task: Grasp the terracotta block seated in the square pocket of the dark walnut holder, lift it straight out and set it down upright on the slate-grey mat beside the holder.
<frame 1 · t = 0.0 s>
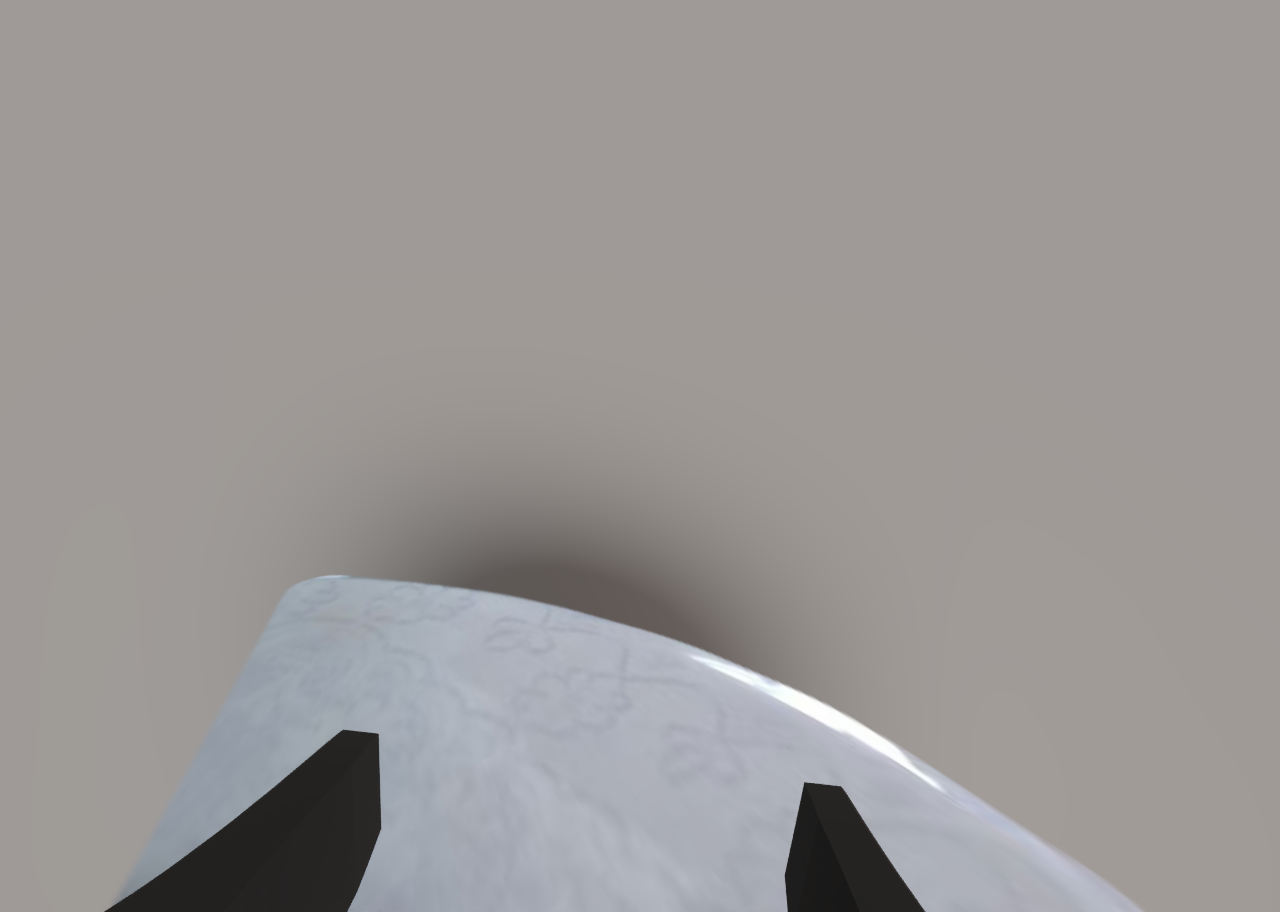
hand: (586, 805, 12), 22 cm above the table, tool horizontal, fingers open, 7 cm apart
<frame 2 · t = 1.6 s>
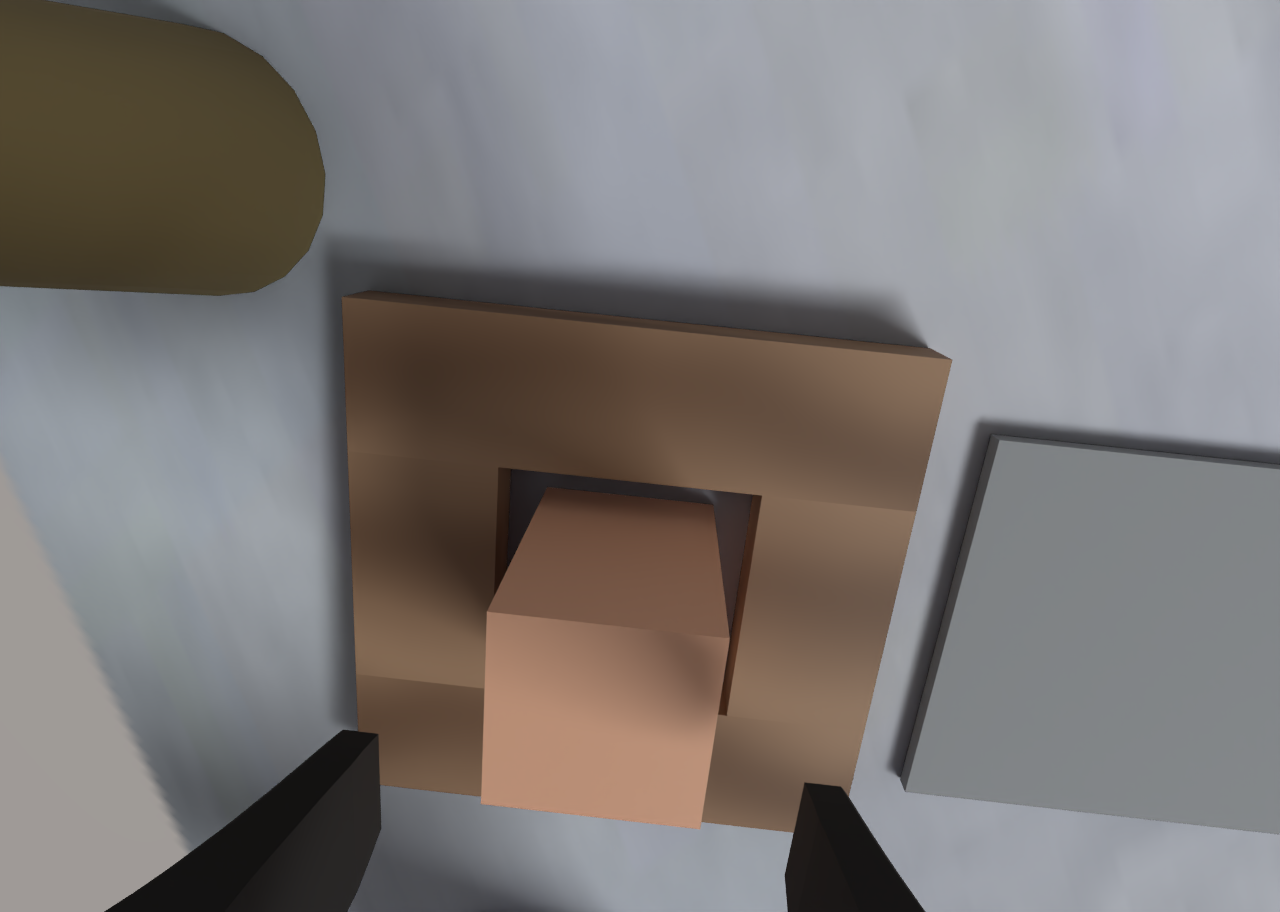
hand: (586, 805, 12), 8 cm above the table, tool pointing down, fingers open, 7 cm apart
holder: (622, 571, 20), on the table
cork: (206, 167, 17), on the table
mat: (1140, 643, 20), on the table
block: (622, 569, 20), resting in holder
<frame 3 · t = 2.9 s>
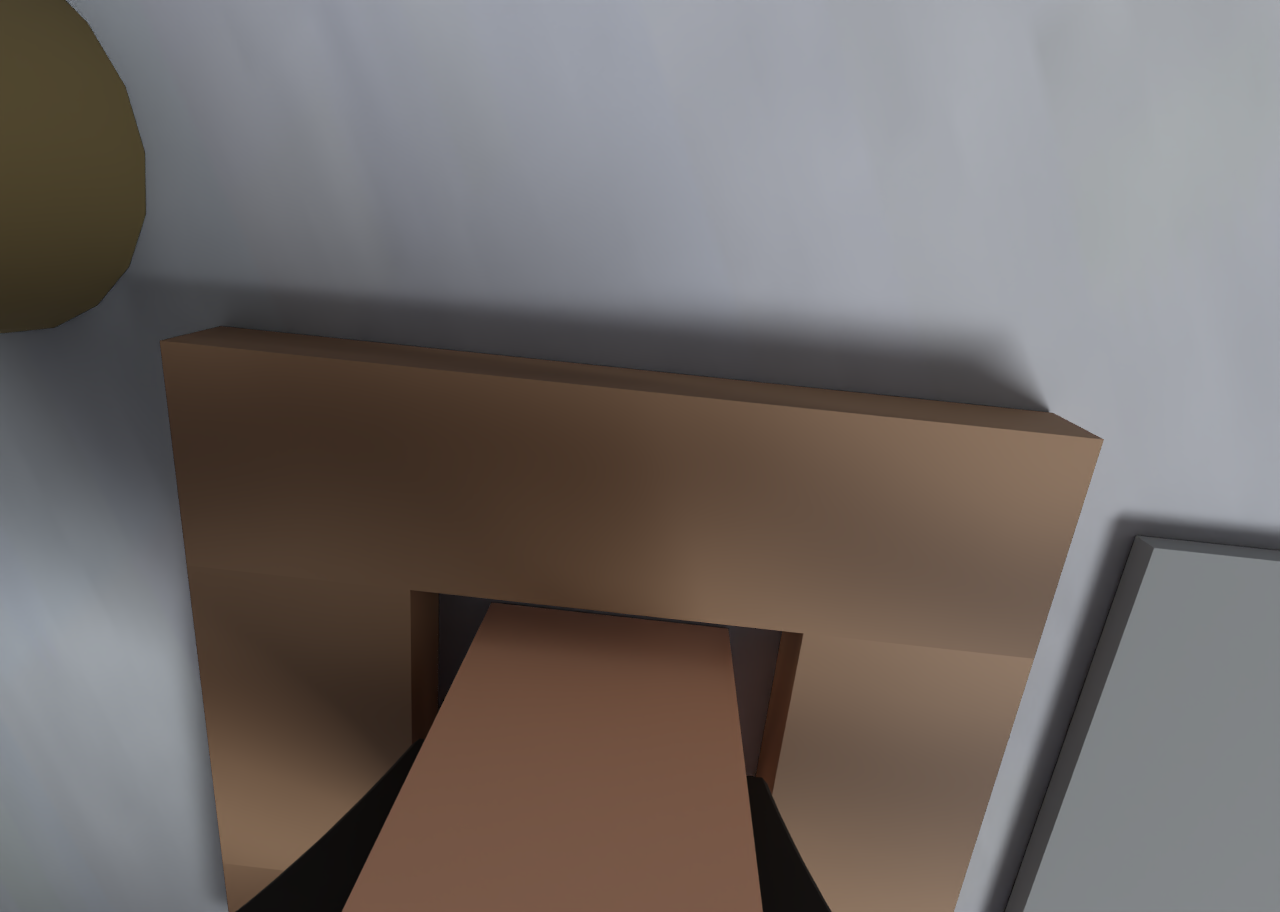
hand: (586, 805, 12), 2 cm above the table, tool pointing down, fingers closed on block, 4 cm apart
holder: (600, 715, 14), on the table
block: (600, 714, 14), resting in holder, touching gripper
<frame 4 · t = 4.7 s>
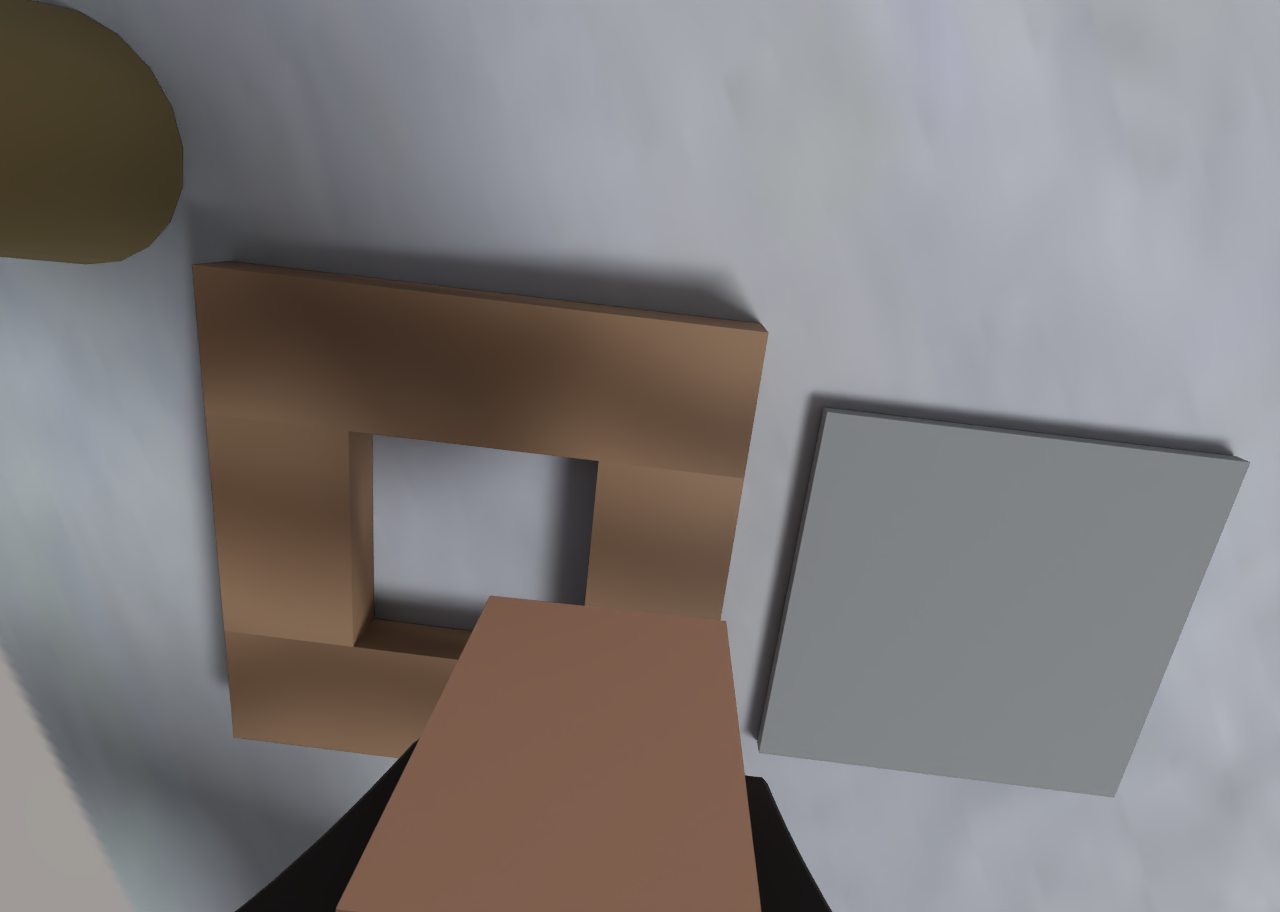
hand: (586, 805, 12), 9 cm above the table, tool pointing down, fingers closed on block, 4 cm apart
holder: (483, 535, 21), on the table
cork: (71, 141, 18), on the table
mat: (975, 611, 21), on the table
block: (598, 706, 14), point 7 cm above the table, touching gripper
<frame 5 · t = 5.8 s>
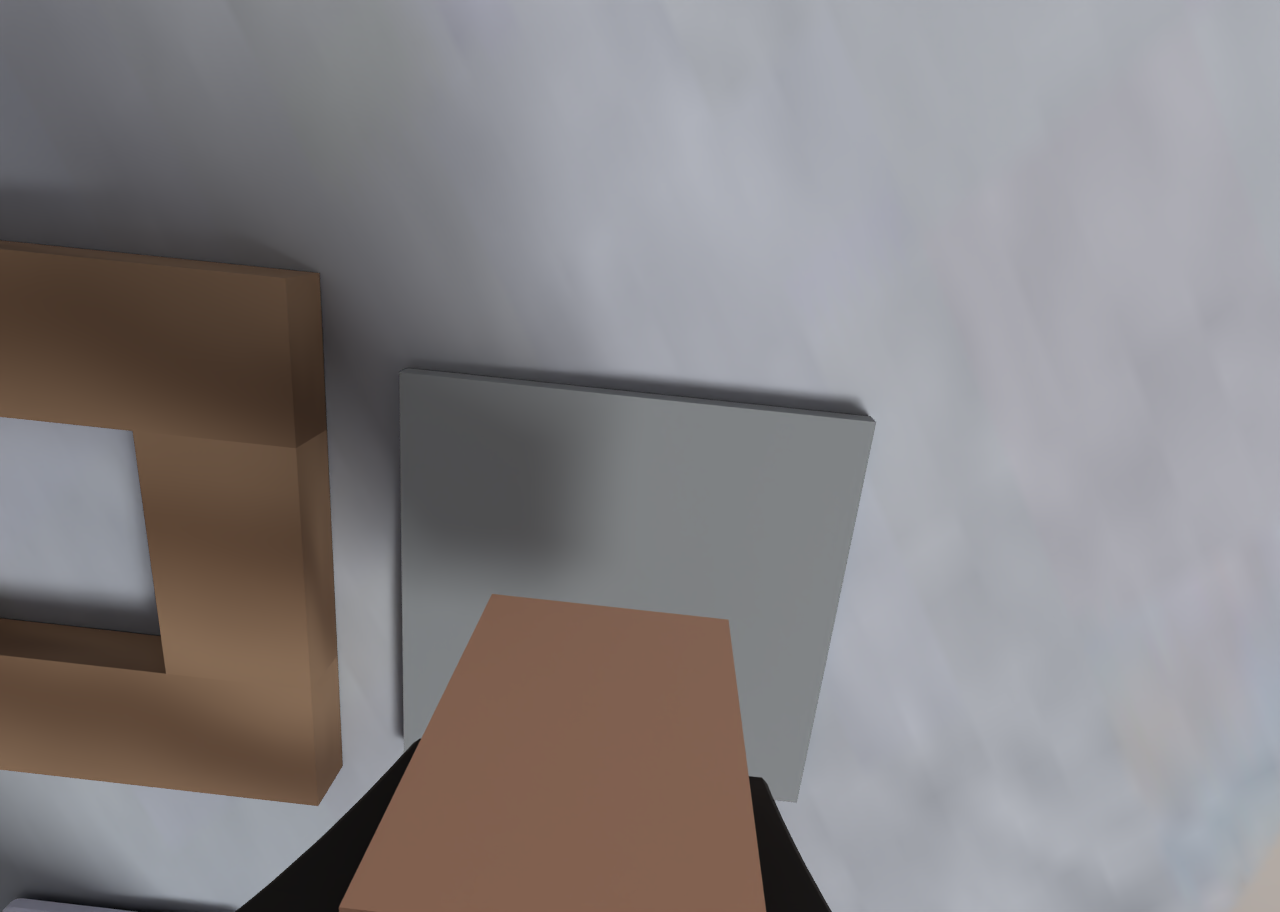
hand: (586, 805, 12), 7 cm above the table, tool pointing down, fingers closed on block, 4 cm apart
holder: (68, 520, 19), on the table
mat: (617, 597, 19), on the table
block: (600, 705, 14), point 5 cm above the table, touching gripper
when the fingers open (4 cm above the table, at t = 6.8 s): block drops 1 cm, resting on mat.
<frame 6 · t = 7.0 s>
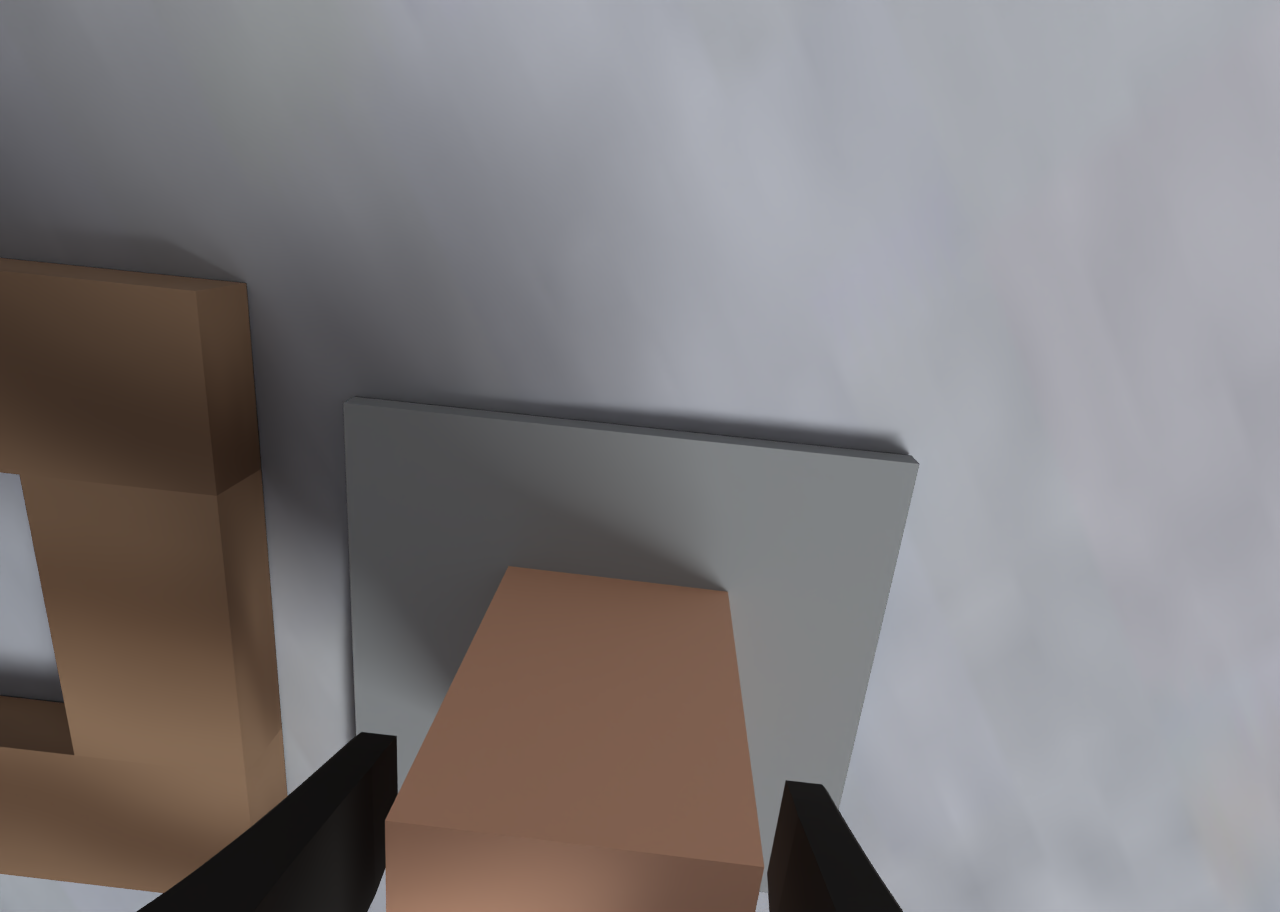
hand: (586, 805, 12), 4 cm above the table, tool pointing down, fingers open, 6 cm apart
mat: (608, 663, 16), on the table
block: (608, 672, 15), resting on mat
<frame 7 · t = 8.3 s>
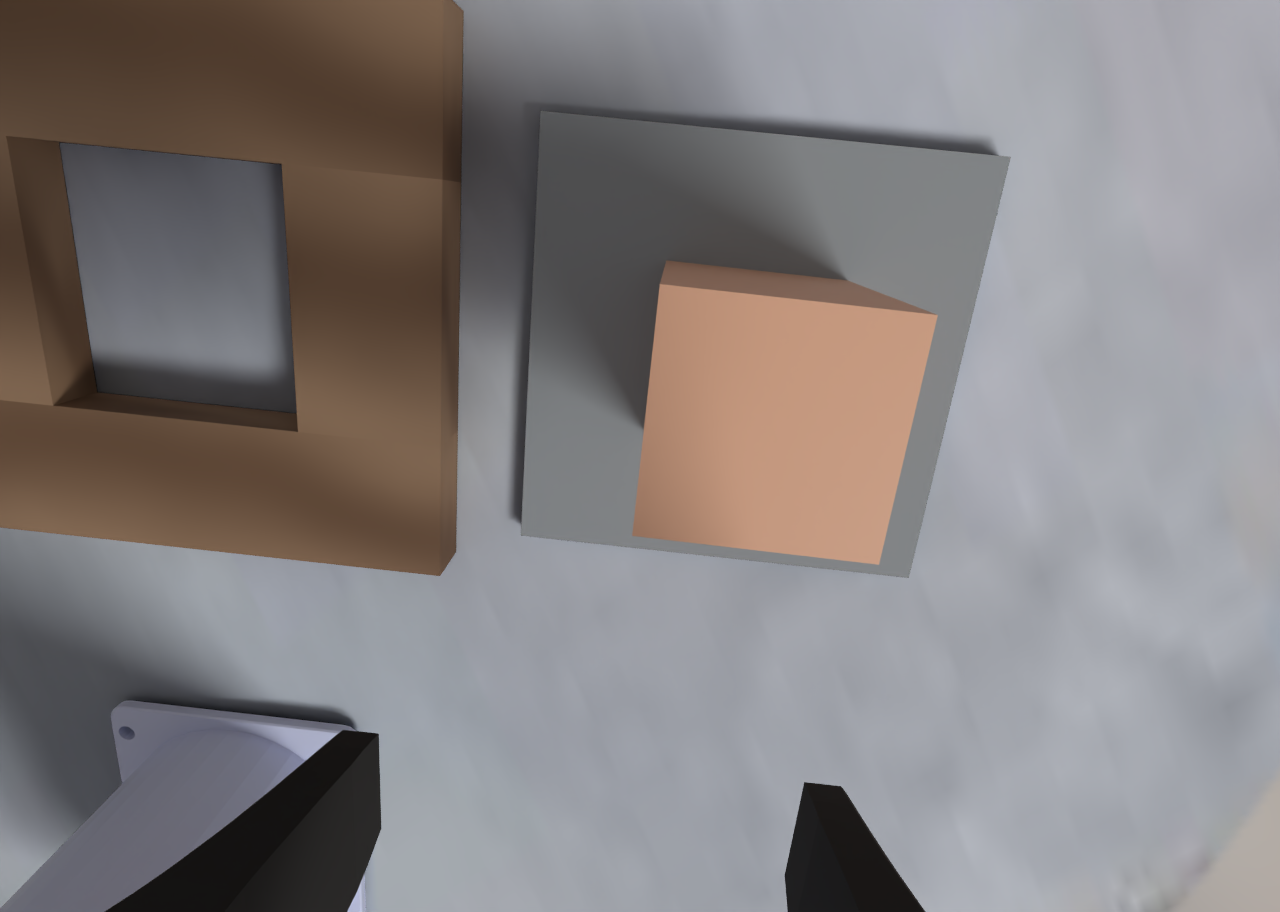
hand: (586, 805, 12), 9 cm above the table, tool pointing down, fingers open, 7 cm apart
holder: (198, 286, 19), on the table
mat: (739, 361, 19), on the table
block: (743, 359, 18), resting on mat
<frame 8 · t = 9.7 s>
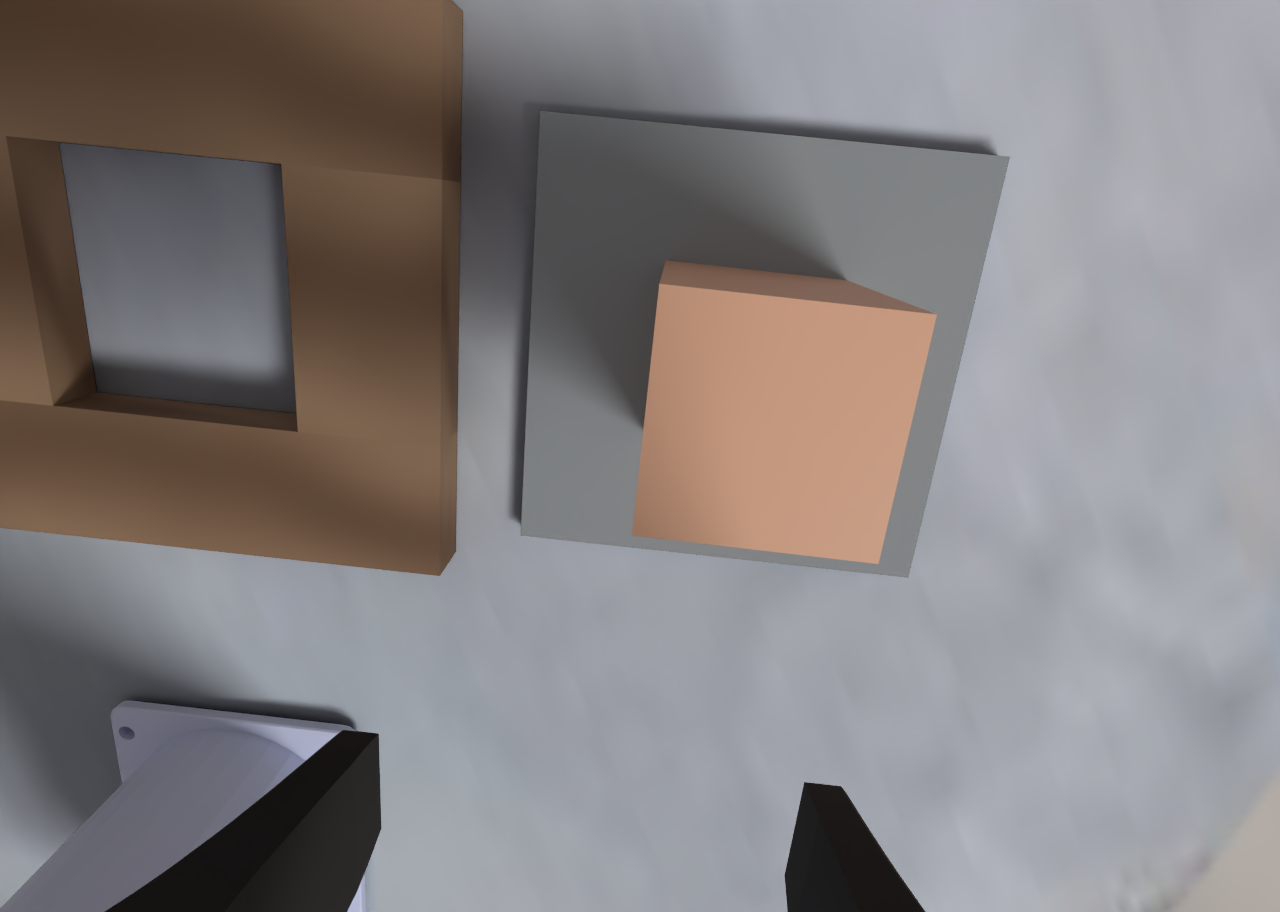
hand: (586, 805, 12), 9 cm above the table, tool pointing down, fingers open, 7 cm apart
holder: (198, 286, 19), on the table
mat: (739, 361, 19), on the table
block: (742, 359, 18), resting on mat
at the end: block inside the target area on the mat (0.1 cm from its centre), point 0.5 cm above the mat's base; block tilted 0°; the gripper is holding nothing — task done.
